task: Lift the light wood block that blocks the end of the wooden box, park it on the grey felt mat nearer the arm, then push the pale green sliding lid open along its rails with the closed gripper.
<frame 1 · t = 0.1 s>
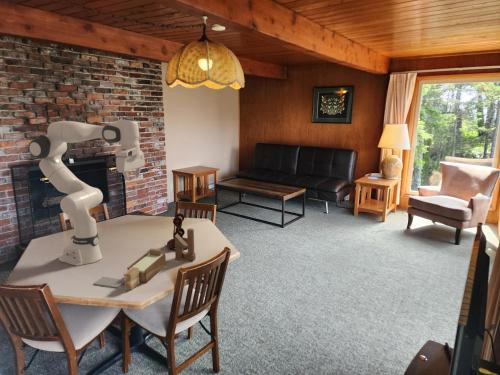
hand: (132, 178, 176), 48 cm above the table, fingers open, 8 cm apart
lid: (147, 259, 177), point 7 cm above the table, slide at 0.0 cm
dark brown ringed stand: (179, 246, 213), on the table
wooden box: (147, 272, 179), on the table
felt mat: (110, 282, 168), on the table
wooden stand: (185, 259, 195), on the table
light wood block: (132, 286, 165), on the table
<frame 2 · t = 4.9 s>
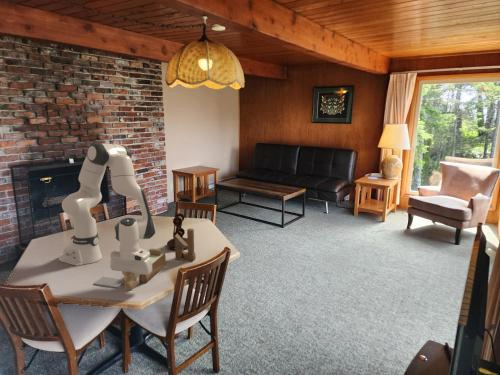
hand: (131, 280, 165), 3 cm above the table, fingers closed on light wood block, 3 cm apart
light wood block: (132, 286, 165), on the table, touching gripper
everything else where it was.
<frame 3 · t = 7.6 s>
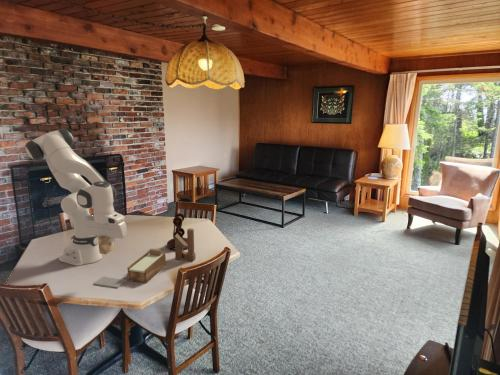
hand: (107, 244, 163), 20 cm above the table, fingers closed on light wood block, 3 cm apart
light wood block: (107, 250, 164), point 17 cm above the table, touching gripper
everything else where it was.
when the fingers open (4 cm above the table, at t = 10.5 s): light wood block stays where it is, resting on felt mat.
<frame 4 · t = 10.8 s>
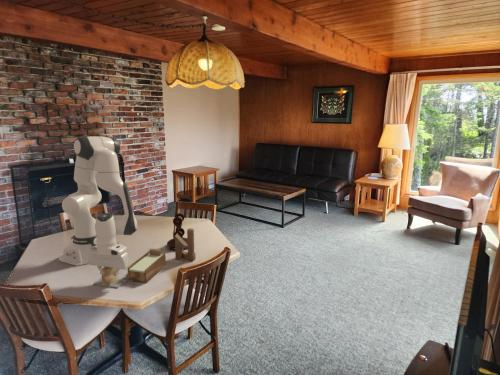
hand: (109, 274, 167), 4 cm above the table, fingers open, 6 cm apart
light wood block: (110, 281, 168), point 1 cm above the table, touching felt mat
everything else where it was.
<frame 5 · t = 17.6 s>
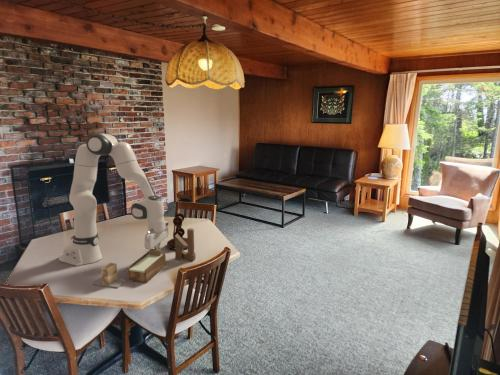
hand: (157, 250, 187), 8 cm above the table, fingers closed
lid: (147, 259, 177), point 7 cm above the table, slide at 0.0 cm, touching gripper
everything else where it was.
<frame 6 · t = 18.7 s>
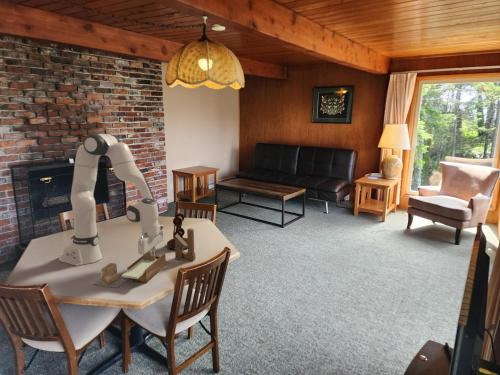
hand: (151, 255, 182), 8 cm above the table, fingers closed
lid: (140, 264, 171), point 7 cm above the table, slide at 6.3 cm, touching gripper
everything else where it was.
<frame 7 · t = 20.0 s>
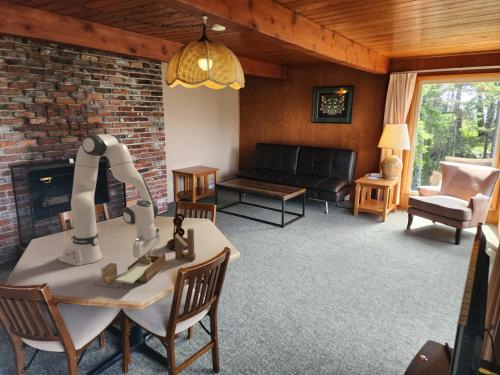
hand: (147, 258, 177), 8 cm above the table, fingers closed
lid: (135, 268, 167), point 7 cm above the table, slide at 10.7 cm, touching gripper
everything else where it was.
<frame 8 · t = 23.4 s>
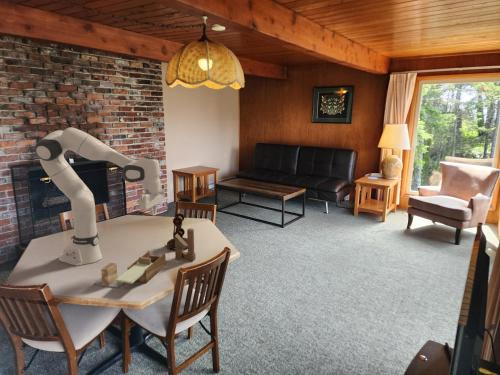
hand: (153, 213, 180), 29 cm above the table, fingers closed
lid: (135, 268, 167), point 7 cm above the table, slide at 10.7 cm
everything else where it was.
at the end: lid slide at 10.7 cm; light wood block 0.1 cm from the felt mat (horizontally); light wood block point 0.6 cm above the table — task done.
